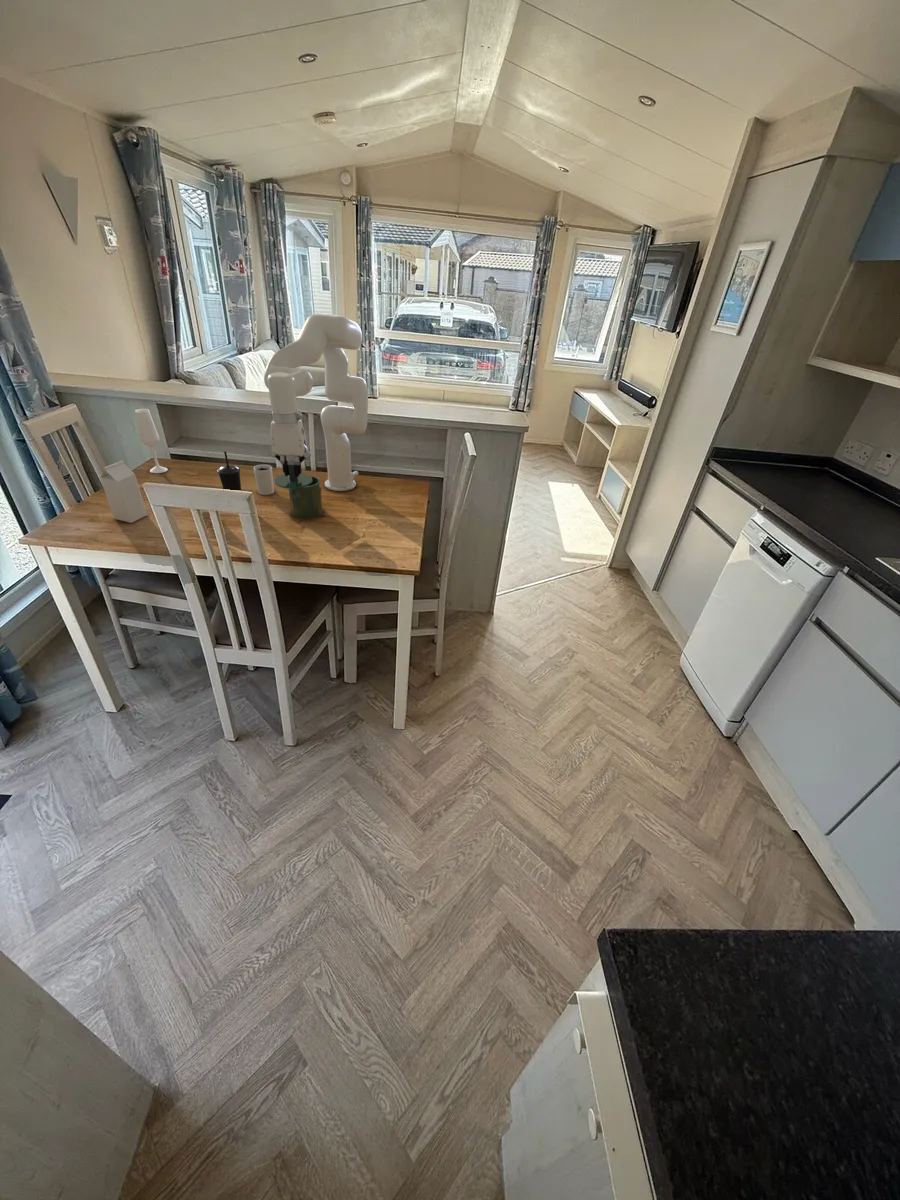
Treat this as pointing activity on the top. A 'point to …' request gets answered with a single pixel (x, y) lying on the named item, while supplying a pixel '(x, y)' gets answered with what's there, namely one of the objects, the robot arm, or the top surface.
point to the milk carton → (123, 492)
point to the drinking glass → (264, 479)
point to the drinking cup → (229, 476)
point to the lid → (293, 478)
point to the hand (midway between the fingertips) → (292, 474)
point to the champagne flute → (149, 435)
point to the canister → (307, 500)
